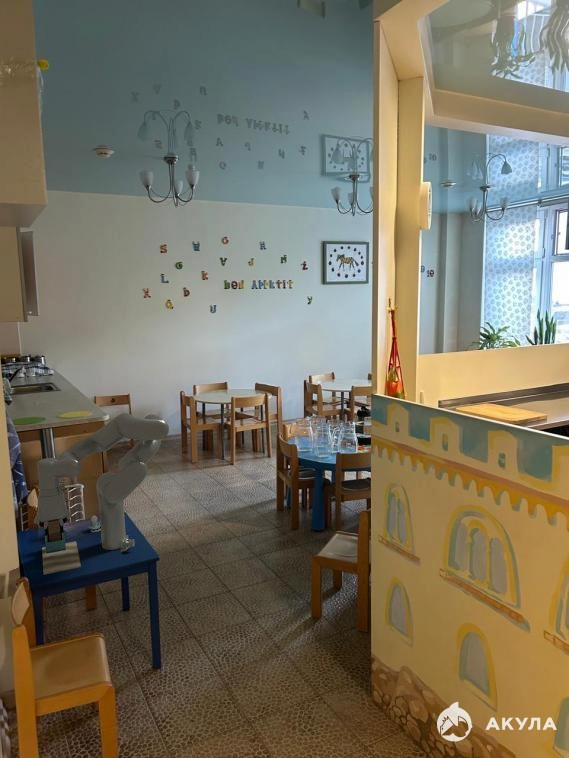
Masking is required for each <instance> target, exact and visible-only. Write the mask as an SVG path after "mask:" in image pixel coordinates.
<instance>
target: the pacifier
mask: <svg viewBox="0 0 569 758" xmlns="http://www.w3.org/2000/svg"><path fill="white" fill-rule="evenodd" d="M90 522H91V524H92V526H86V528H87V529H89V530H90V533H97V532H101V528H100V527H101V526H100V520H99V521H98V517H97V515H92V516H91V517H90ZM97 529H98V530H97ZM93 530H95V531H93Z"/></svg>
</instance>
